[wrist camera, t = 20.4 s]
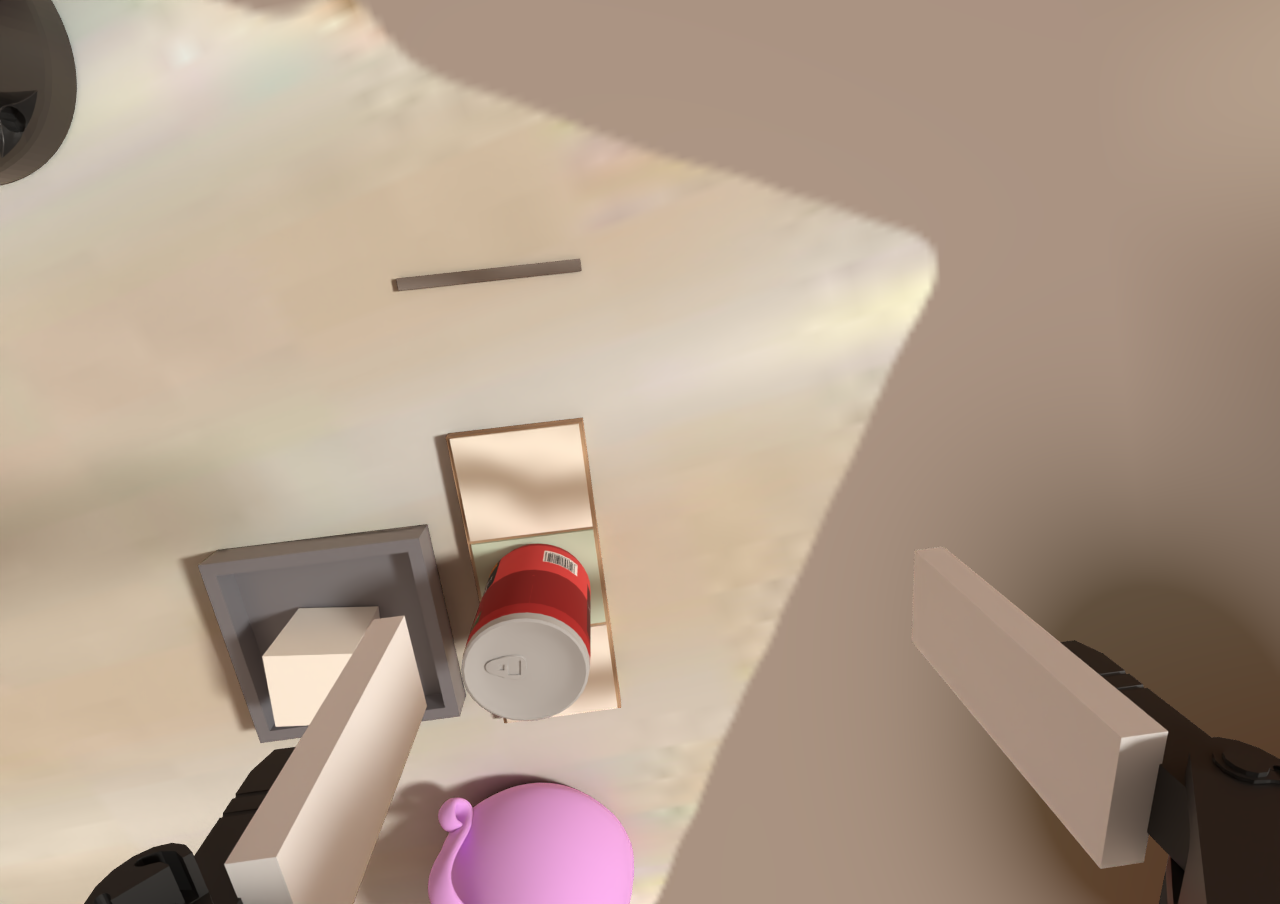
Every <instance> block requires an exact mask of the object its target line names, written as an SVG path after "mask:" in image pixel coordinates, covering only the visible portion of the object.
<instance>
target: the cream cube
mask: <svg viewBox="0 0 1280 904" xmlns="http://www.w3.org/2000/svg"><path fill="white" fill-rule="evenodd" d="M374 619H380V615H379V606H372V607H330V608H299V609H298V610H297V611H296V613H295V614H294V615H293V617H292V618H291V619H290V621H289V622H288V623H287V625H286V626H285V627H284V628H283V630H282V631H281V632H280V634H279V635H278V636H277V638H276V639H275V640H274V642H273V643H272V644H271V646H270V647H269V648H268V650H267V651H266V652H265V654H264V655H263V656H262V658H263V663H264V668H265V674H266V679H267V684H268V689H269V695H270V700H271V705H272V711H273V716H274V721H275V726H276V727H282V726H306V725H309V724H310V723H311V721H312V720H313V718H314V716H315V715H316V713H317V711H318V710H319V708H320V706H321V705H322V703H323V702H324V700H325V698H326V697H327V695H328V693H329V692H330V690H331V688H332V687H333V685H334V684H335V682H336V680H337V679H338V677H339V675H340V674H341V672H342V670H343V669H344V667H345V666H346V664H347V662H348V661H349V659H350V657H351V656H352V654H353V652H354V651H355V649H356V648H357V646H358V644H359V643H360V641H361V639H362V638H363V636H364V634H365V633H366V631H367V630H368V628H369V626H370V625H371V623H372V621H373V620H374Z"/></svg>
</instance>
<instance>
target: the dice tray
mask: <svg viewBox="0 0 1280 904" xmlns="http://www.w3.org/2000/svg"><path fill="white" fill-rule="evenodd" d="M198 567H199V570H200V573H201V576H202V579H203V582H204V584H205V587H206V590H207V593H208V596H209V599H210V601H211V604H212V607H213V610H214V613H215V616H216V618H217V621H218V624H219V627H220V630H221V633H222V635H223V638H224V641H225V644H226V647H227V650H228V652H229V655H230V658H231V661H232V664H233V667H234V669H235V672H236V675H237V678H238V681H239V684H240V686H241V689H242V692H243V695H244V698H245V700H246V703H247V706H248V709H249V712H250V715H251V717H252V720H253V723H254V726H255V729H256V732H257V734H258V737H259V740H260V743H264V742H272V741H279V740H287V739H294V738H301V737H302V736H303V734H304V733H305V731H306V729H307V728H308V726H309V725H306V726H282V727H276V726H275V721H274V716H273V711H272V705H271V700H270V695H269V689H268V684H267V679H266V674H265V668H264V663H263V658H262V656H263V655H264V654H265V652H266V651H267V650H268V648H269V647H270V646H271V644H272V643H273V642H274V640H275V639H276V638H277V636H278V635H279V634H280V632H281V631H282V630H283V628H284V627H285V626H286V625H287V623H288V622H289V621H290V619H291V618H292V617H293V615H294V614H295V613H296V611H297V610H298V609H299V608H330V607H372V606H379V615H380V619H381V618H388V617H396V616H405V620H406V624H407V628H408V632H409V636H410V640H411V644H412V648H413V652H414V656H415V660H416V664H417V668H418V672H419V676H420V680H421V684H422V688H423V692H424V696H425V700H426V704H427V707H426V710H425V713H424V715H423V718H422V721H428V720H436V719H443V718H451V717H458V716H460V714H461V711H462V707H463V704H464V701H465V697H466V694H465V690H464V685H463V681H462V676H461V672H460V667H459V663H458V658H457V654H456V649H455V645H454V641H453V636H452V632H451V627H450V623H449V618H448V614H447V609H446V605H445V600H444V596H443V592H442V587H441V583H440V578H439V574H438V569H437V565H436V560H435V556H434V551H433V547H432V542H431V538H430V534H429V529H428V525H427V524H426V525H418V526H410V527H402V528H394V529H386V530H377V531H369V532H361V533H353V534H345V535H337V536H329V537H320V538H312V539H304V540H296V541H288V542H280V543H271V544H263V545H255V546H247V547H239V548H231V549H222V550H217V551H216V552H214V553H213V554H212V555H211V556H209V557H208V558H207V559H205V560H204V561H203V562H201V563H200V564H199V565H198Z"/></svg>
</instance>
